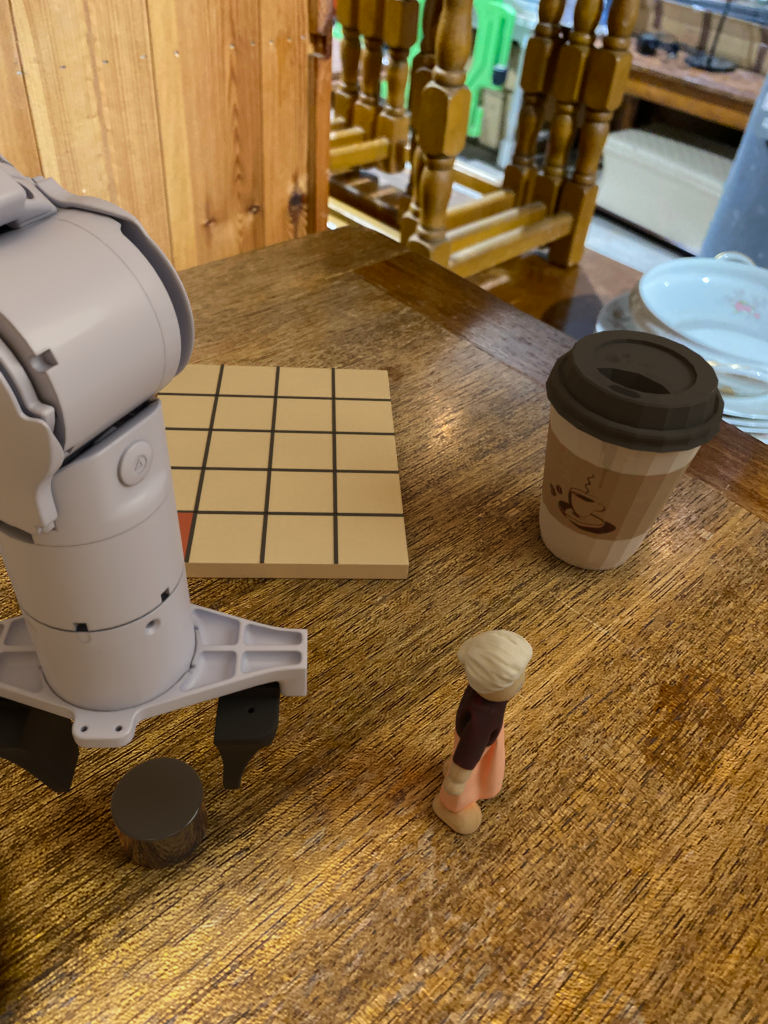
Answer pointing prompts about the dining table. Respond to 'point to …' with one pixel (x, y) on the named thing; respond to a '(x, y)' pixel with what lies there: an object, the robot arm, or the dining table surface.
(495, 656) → the grandmother figurine
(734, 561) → the dining table surface
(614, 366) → the coffee cup
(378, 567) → the board
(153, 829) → the dark grey cylinder
